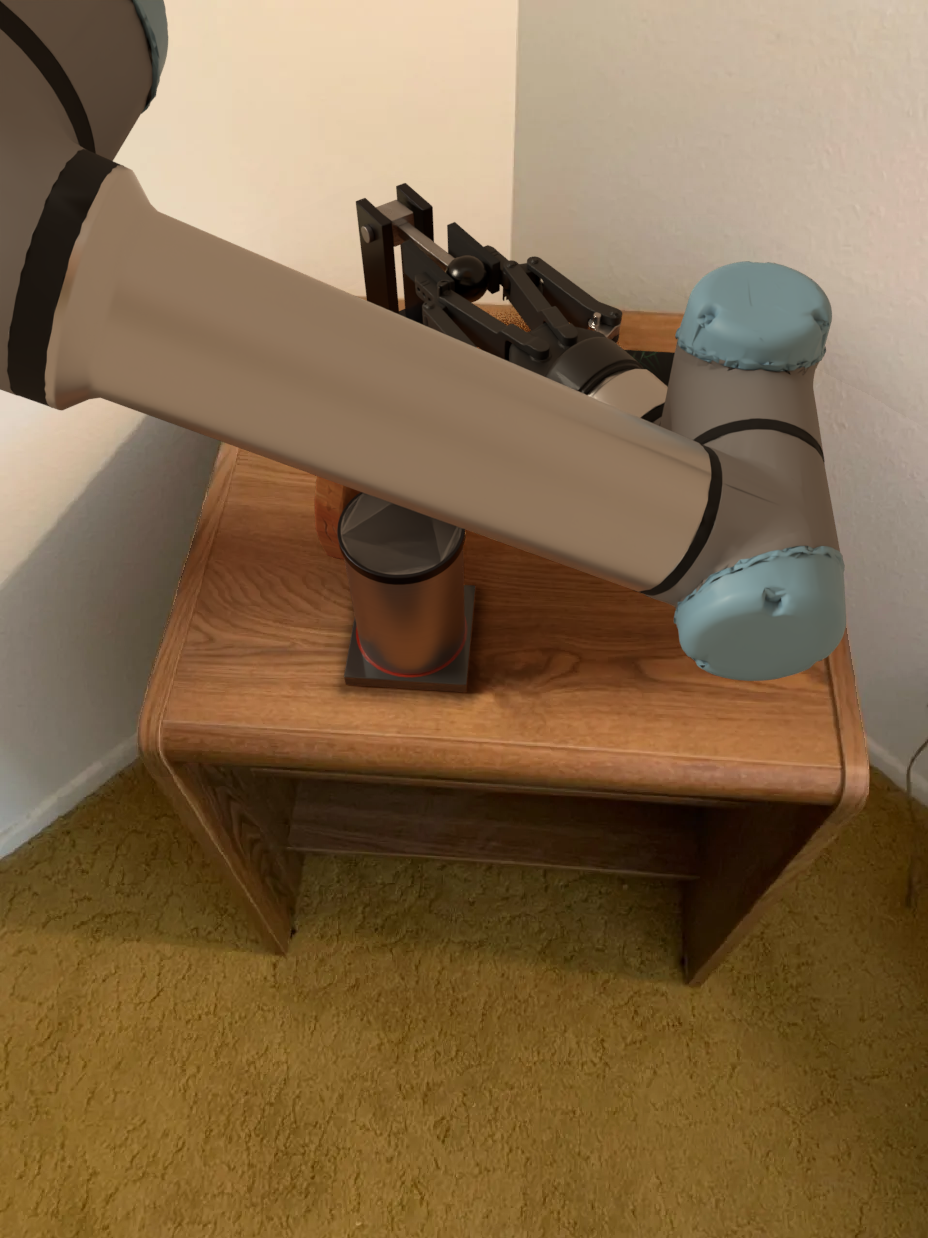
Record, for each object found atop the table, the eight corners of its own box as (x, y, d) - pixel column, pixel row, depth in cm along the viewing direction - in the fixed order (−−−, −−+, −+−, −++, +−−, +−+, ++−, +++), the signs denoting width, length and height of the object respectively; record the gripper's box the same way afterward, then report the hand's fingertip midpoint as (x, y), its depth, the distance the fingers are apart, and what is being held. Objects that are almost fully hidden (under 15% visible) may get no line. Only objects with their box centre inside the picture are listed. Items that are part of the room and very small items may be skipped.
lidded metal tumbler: (349, 673, 67) (327, 574, 58) (364, 582, 72) (347, 475, 62) (462, 680, 67) (460, 581, 57) (470, 588, 72) (469, 481, 62)
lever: (498, 301, 74) (497, 259, 71) (461, 317, 73) (459, 276, 70) (406, 229, 82) (402, 189, 79) (372, 243, 81) (366, 202, 78)
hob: (345, 685, 68) (343, 676, 67) (362, 587, 73) (361, 578, 72) (466, 693, 68) (466, 684, 67) (475, 594, 73) (475, 584, 72)
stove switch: (459, 350, 89) (456, 207, 77) (388, 381, 87) (374, 239, 75) (420, 312, 93) (412, 169, 80) (351, 341, 90) (331, 199, 78)
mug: (360, 474, 80) (340, 333, 68) (450, 494, 79) (446, 353, 66) (296, 607, 72) (259, 474, 60) (394, 631, 71) (378, 500, 59)
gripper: (510, 497, 65) (346, 322, 76) (688, 404, 70) (510, 252, 82) (513, 418, 59) (334, 240, 70) (709, 323, 64) (513, 170, 75)
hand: (429, 247), depth 76 cm, fingers closed on lever, 4 cm apart
